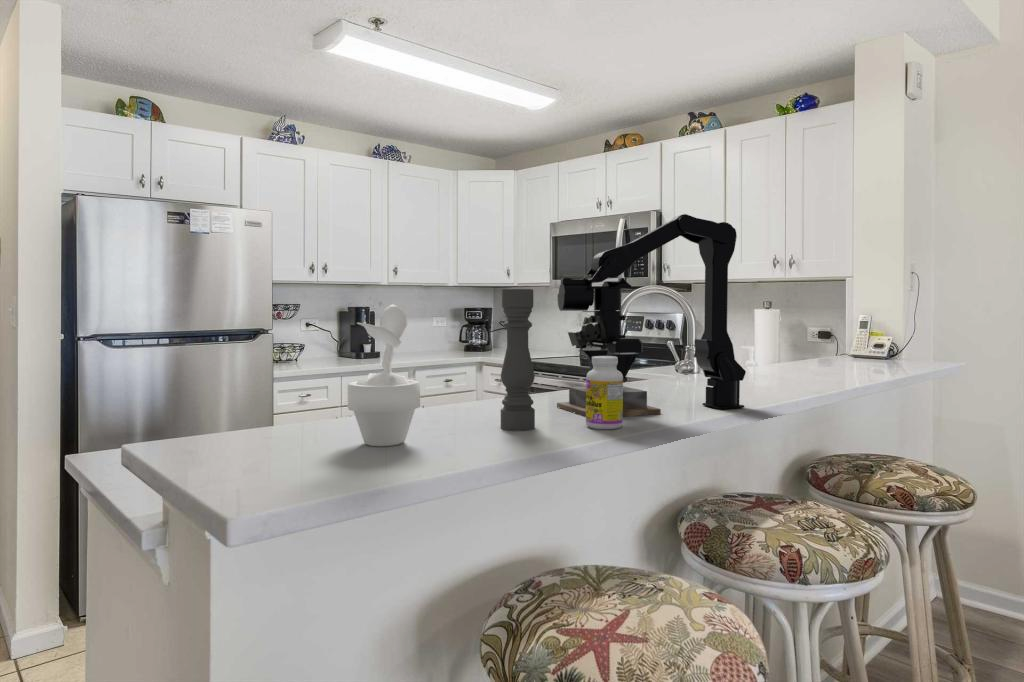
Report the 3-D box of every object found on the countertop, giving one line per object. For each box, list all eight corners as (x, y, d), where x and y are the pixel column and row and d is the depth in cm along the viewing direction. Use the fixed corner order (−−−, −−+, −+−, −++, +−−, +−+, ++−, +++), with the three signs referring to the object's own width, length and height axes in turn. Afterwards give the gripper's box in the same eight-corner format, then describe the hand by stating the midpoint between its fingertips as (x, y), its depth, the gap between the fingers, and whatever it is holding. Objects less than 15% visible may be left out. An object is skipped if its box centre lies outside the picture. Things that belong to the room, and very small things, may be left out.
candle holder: (540, 429, 117) (540, 289, 116) (508, 431, 115) (507, 288, 114) (526, 423, 123) (526, 290, 122) (495, 425, 121) (495, 289, 120)
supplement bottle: (579, 425, 121) (579, 356, 121) (609, 422, 124) (609, 355, 124) (598, 431, 115) (599, 358, 115) (630, 428, 118) (630, 357, 118)
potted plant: (379, 433, 113) (377, 288, 112) (434, 440, 108) (433, 287, 107) (326, 447, 102) (323, 286, 101) (385, 455, 97) (383, 285, 96)
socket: (620, 403, 150) (620, 383, 149) (660, 413, 135) (660, 391, 134) (556, 407, 144) (556, 386, 144) (590, 418, 129) (591, 395, 129)
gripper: (554, 310, 144) (554, 381, 145) (594, 311, 127) (594, 391, 127) (599, 310, 148) (599, 379, 149) (644, 310, 131) (643, 388, 131)
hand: (607, 384), depth 139 cm, fingers open, 9 cm apart
